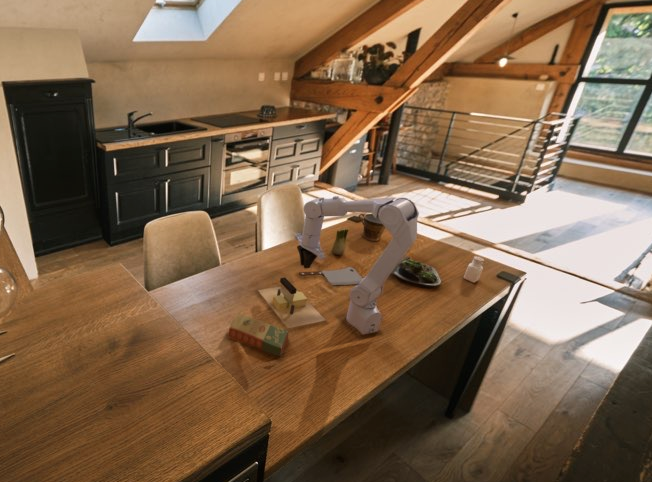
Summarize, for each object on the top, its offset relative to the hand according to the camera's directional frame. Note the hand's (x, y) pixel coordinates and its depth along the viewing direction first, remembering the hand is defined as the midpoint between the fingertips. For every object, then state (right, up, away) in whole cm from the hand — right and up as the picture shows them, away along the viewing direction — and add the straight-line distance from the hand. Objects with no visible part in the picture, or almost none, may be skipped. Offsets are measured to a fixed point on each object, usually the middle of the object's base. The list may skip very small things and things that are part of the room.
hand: (305, 266), depth 135 cm
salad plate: (+47, -6, +15) cm, 50 cm away
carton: (-21, -19, -19) cm, 34 cm away
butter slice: (-11, -13, -6) cm, 18 cm away
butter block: (-5, -12, -4) cm, 14 cm away
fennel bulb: (+23, 0, +28) cm, 37 cm away
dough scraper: (-9, -9, -7) cm, 14 cm away
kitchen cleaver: (+14, -7, +12) cm, 20 cm away
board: (-7, -13, -5) cm, 15 cm away
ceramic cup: (+44, +6, +44) cm, 63 cm away
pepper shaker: (+69, -8, +13) cm, 71 cm away
